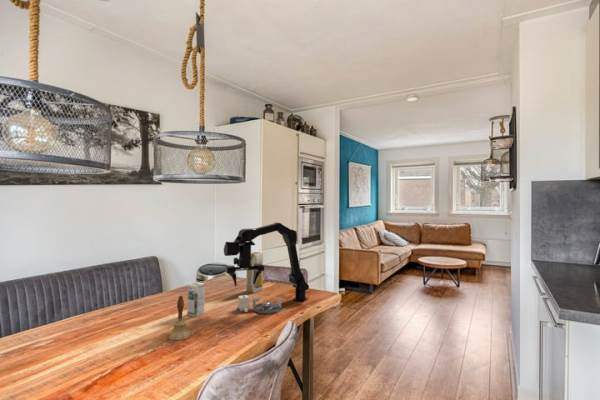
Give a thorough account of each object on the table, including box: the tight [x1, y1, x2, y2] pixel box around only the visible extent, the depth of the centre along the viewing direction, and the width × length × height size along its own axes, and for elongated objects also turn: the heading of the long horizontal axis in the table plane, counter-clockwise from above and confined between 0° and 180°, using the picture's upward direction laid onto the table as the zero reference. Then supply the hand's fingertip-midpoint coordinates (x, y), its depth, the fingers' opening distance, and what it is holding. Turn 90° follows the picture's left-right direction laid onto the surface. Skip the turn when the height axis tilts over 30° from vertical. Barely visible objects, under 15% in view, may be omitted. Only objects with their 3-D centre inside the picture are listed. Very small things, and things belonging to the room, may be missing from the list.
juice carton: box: [245, 250, 264, 293], centre depth 191 cm, size 9×8×24 cm
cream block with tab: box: [237, 294, 250, 313], centre depth 158 cm, size 10×4×6 cm, turn 25°
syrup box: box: [186, 281, 206, 318], centre depth 151 cm, size 6×6×14 cm
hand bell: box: [168, 295, 192, 341], centre depth 126 cm, size 8×8×16 cm
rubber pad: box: [236, 306, 252, 313], centre depth 158 cm, size 7×7×1 cm
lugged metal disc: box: [252, 297, 282, 315], centre depth 159 cm, size 14×14×5 cm
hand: (244, 285), depth 158 cm, fingers open, 9 cm apart
